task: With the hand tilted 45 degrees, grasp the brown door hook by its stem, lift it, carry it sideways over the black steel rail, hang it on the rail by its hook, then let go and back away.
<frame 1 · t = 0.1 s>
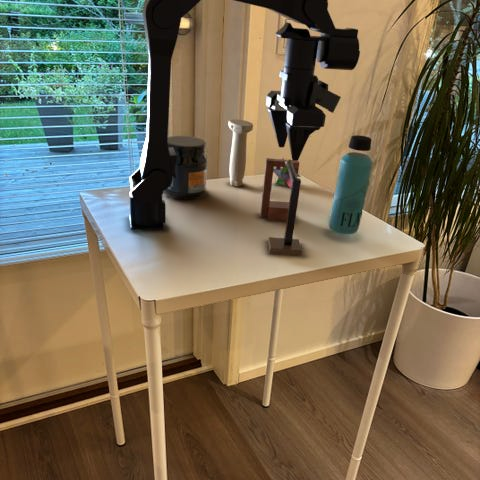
hand: (288, 153, 101), 15 cm above the table, tool pointing down, fingers open, 9 cm apart
handle: (236, 185, 128), on the table
supplement container: (183, 193, 120), on the table
beverage bottle: (341, 235, 107), on the table
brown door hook: (263, 216, 111), on the table
geometric puzzle: (284, 185, 131), on the table
rack: (283, 235, 104), on the table
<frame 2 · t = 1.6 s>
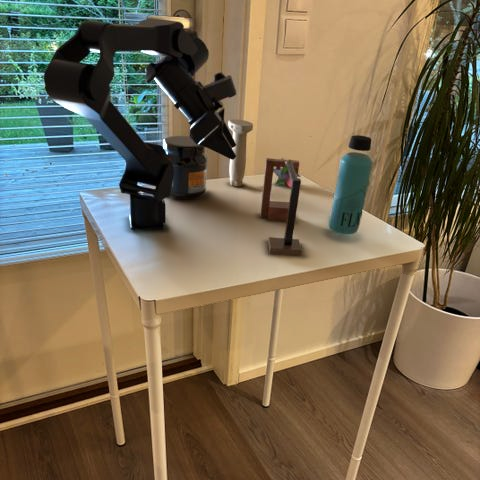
hand: (234, 152, 103), 13 cm above the table, tool tilted 45°, fingers open, 9 cm apart
nothing on the table moved.
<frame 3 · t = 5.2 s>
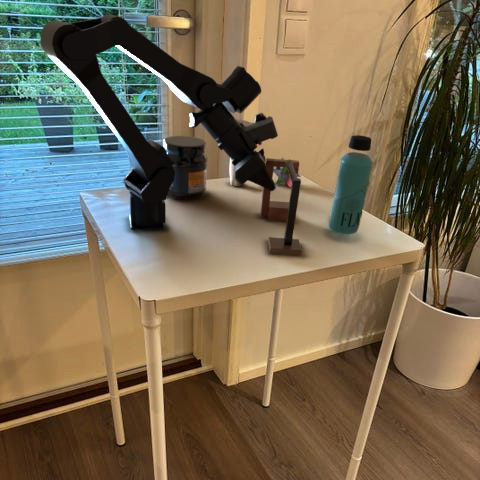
hand: (273, 187, 108), 7 cm above the table, tool tilted 45°, fingers closed on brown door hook, 2 cm apart
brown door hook: (263, 216, 111), on the table, touching gripper
everything else where it was.
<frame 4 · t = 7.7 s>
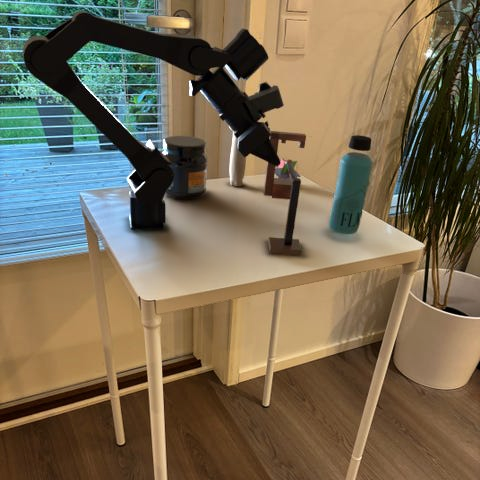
hand: (278, 163, 101), 13 cm above the table, tool tilted 45°, fingers closed on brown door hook
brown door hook: (267, 194, 105), point 6 cm above the table, touching gripper
everything else where it was.
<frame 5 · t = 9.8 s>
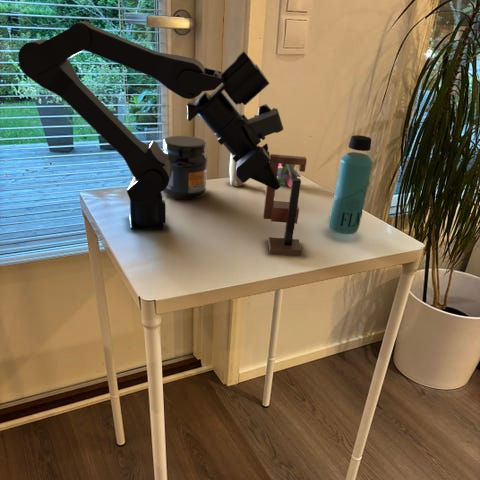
hand: (278, 186, 99), 10 cm above the table, tool tilted 45°, fingers closed on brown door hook, 2 cm apart
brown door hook: (267, 217, 103), point 3 cm above the table, touching gripper
everything else where it was.
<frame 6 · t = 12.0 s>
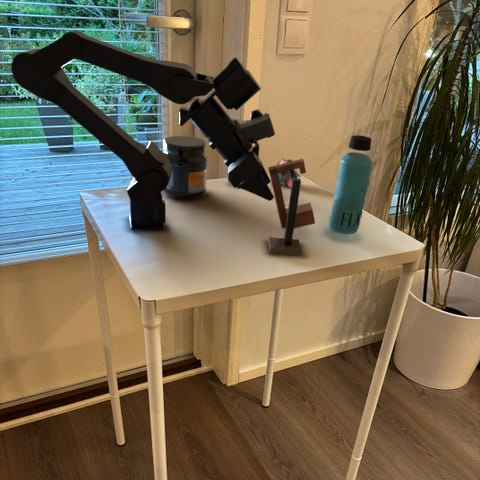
hand: (270, 190, 100), 9 cm above the table, tool tilted 45°, fingers open, 9 cm apart
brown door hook: (285, 226, 104), point 2 cm above the table, tilted 19°, touching rack
everything else where it was.
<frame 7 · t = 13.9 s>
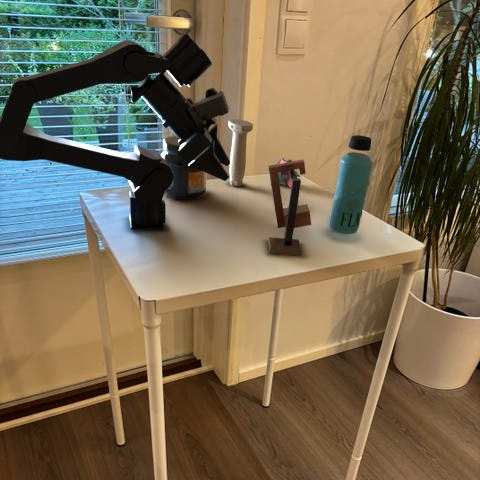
hand: (228, 171, 98), 12 cm above the table, tool tilted 45°, fingers open, 9 cm apart
nothing on the table moved.
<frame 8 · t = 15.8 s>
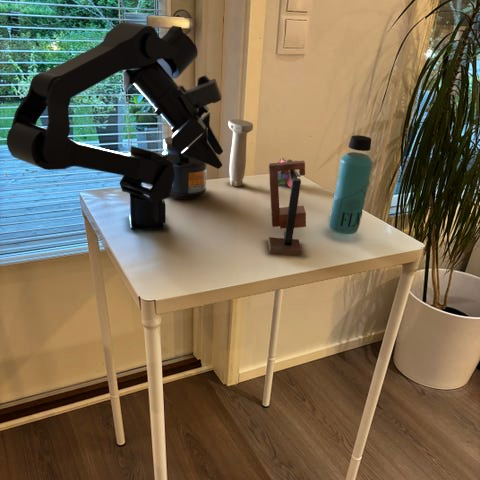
hand: (221, 159, 98), 14 cm above the table, tool tilted 45°, fingers open, 9 cm apart
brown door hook: (276, 225, 104), point 2 cm above the table, tilted 10°, touching rack
everything else where it was.
at the end: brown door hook 1.6 cm from the target spot on the rack, point 2.0 cm above the rack's base; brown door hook touching rack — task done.
